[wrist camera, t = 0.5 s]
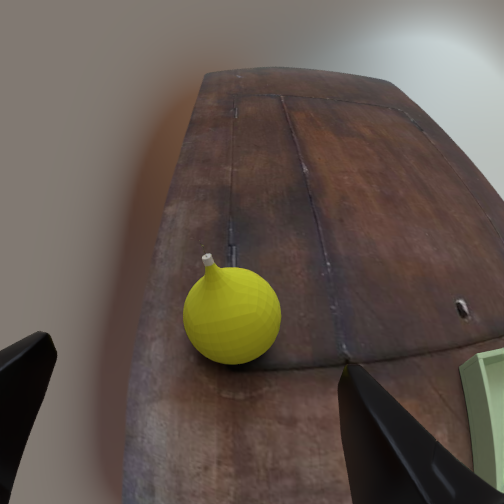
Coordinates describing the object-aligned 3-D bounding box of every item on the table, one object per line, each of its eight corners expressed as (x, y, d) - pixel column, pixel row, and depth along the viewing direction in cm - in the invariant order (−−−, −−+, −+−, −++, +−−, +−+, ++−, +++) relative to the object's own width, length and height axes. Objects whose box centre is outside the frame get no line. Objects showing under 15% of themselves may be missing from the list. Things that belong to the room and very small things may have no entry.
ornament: (195, 298, 27) (179, 215, 20) (274, 302, 27) (288, 218, 20) (185, 374, 22) (156, 310, 15) (276, 378, 22) (297, 316, 15)
